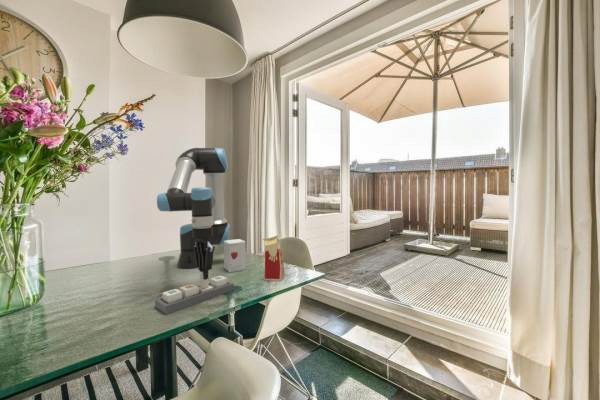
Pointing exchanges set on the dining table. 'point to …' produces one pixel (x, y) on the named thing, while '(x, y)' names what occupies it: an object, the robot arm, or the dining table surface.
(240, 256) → the supplement box
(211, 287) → the key ochre
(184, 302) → the keypad
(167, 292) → the key teal
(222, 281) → the key slate
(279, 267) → the milk carton
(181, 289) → the key rust
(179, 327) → the dining table surface
